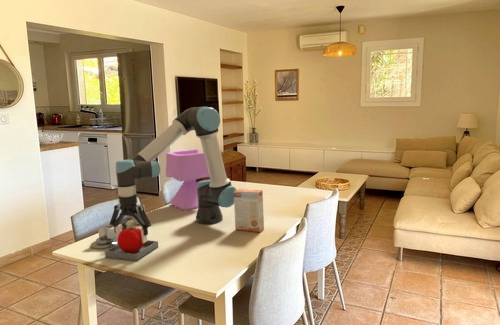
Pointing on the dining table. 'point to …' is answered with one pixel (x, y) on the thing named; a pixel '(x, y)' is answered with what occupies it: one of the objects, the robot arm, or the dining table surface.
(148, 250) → the tray
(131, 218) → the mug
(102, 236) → the crank
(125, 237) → the tomato
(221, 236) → the dining table surface
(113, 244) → the crank base
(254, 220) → the cracker box
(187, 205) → the pink table lamp
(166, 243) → the dining table surface
